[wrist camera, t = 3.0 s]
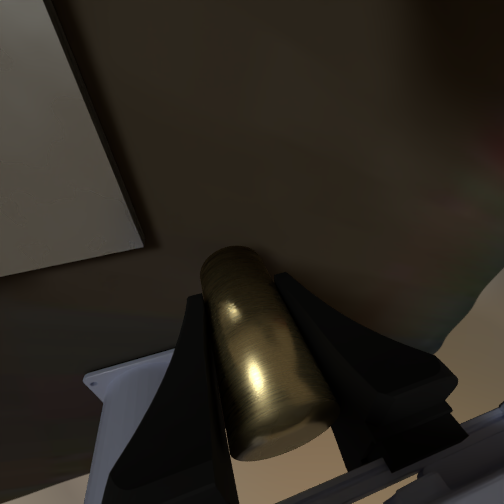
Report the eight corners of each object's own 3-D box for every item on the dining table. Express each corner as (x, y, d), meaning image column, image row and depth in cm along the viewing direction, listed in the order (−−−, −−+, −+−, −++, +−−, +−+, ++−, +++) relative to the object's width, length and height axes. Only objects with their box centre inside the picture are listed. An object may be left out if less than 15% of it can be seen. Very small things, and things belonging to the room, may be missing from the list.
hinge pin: (264, 288, 15) (333, 434, 9) (206, 302, 15) (237, 471, 8) (260, 239, 13) (348, 385, 7) (193, 254, 12) (220, 431, 6)
